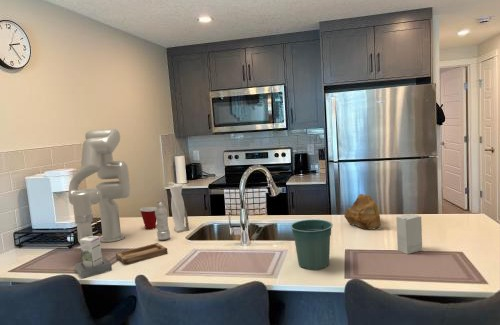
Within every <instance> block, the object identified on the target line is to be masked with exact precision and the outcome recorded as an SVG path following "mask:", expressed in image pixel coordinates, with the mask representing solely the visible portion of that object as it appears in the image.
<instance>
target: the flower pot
mask: <svg viewBox="0 0 500 325" xmlns="http://www.w3.org/2000/svg"><path fill="white" fill-rule="evenodd" d="M333 225H334V224H333V223H332V222H331V221H328V220H325V219H314V218H313V219H312V218H311V219H301V220H298V221H295V222H293V223H291V224H290V229H291V230H292V231H291V232H292V236H293V239H294V244H295V250H296V256H297V263H298V266H299V267H300V268H302V269H304V268H305V269H307V270H321V269H325V268H326V267H328V266H329V265H330V248H331V236H332V228H333Z"/></svg>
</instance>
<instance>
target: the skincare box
mask: <svg viewBox="0 0 500 325" xmlns="http://www.w3.org/2000/svg"><path fill="white" fill-rule="evenodd" d="M422 226H423V225H422V216H420V215H418V214H413V213H409V214H408V213H407V214H404V215H400V216H399V215H398V216H396V240H397V243H396V244H397V245H396V246H397V250H398V251H399V252H402V253H404V254H406V255H411V254H413V253H417V252H421V251H423V234H422V233H423V229H422Z"/></svg>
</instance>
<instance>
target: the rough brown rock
mask: <svg viewBox="0 0 500 325" xmlns="http://www.w3.org/2000/svg"><path fill="white" fill-rule="evenodd" d="M379 212H380V211H379V208H378V205H377V203H376V202H375V201H374V200H373V198H372V196H371V195H370V194H361V193H360V194H358V196H357V197H356V199H355V200H354V202H353V204H351V206H349V207H348V208H347V209H346V211H345V213H344V216H343V217H344V218H345V220H346V221H347V223H348V224H350V225H355V226H357V227H358V228H361V229H362V230H366V229H368V230H374V229H378V228H380V227H381V214H380V213H379Z"/></svg>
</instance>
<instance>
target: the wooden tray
mask: <svg viewBox="0 0 500 325" xmlns="http://www.w3.org/2000/svg"><path fill="white" fill-rule="evenodd" d="M168 252H169V251H168V248H167V247H165V246H163V245H162V244H160V243H158V242H157V243H156V242H155V243H152V244H147V245H144V246H140V247H135V248H132V249H127V250H123V251H120V252H116V253H115V256H116V260H118V261H119V262H120V263H122V265H124V266H127V265H131V264H135V263H138V262H142V261H146V260H149V259H153V258H157V257H160V256H163V255H164V256H165V255H168Z"/></svg>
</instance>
